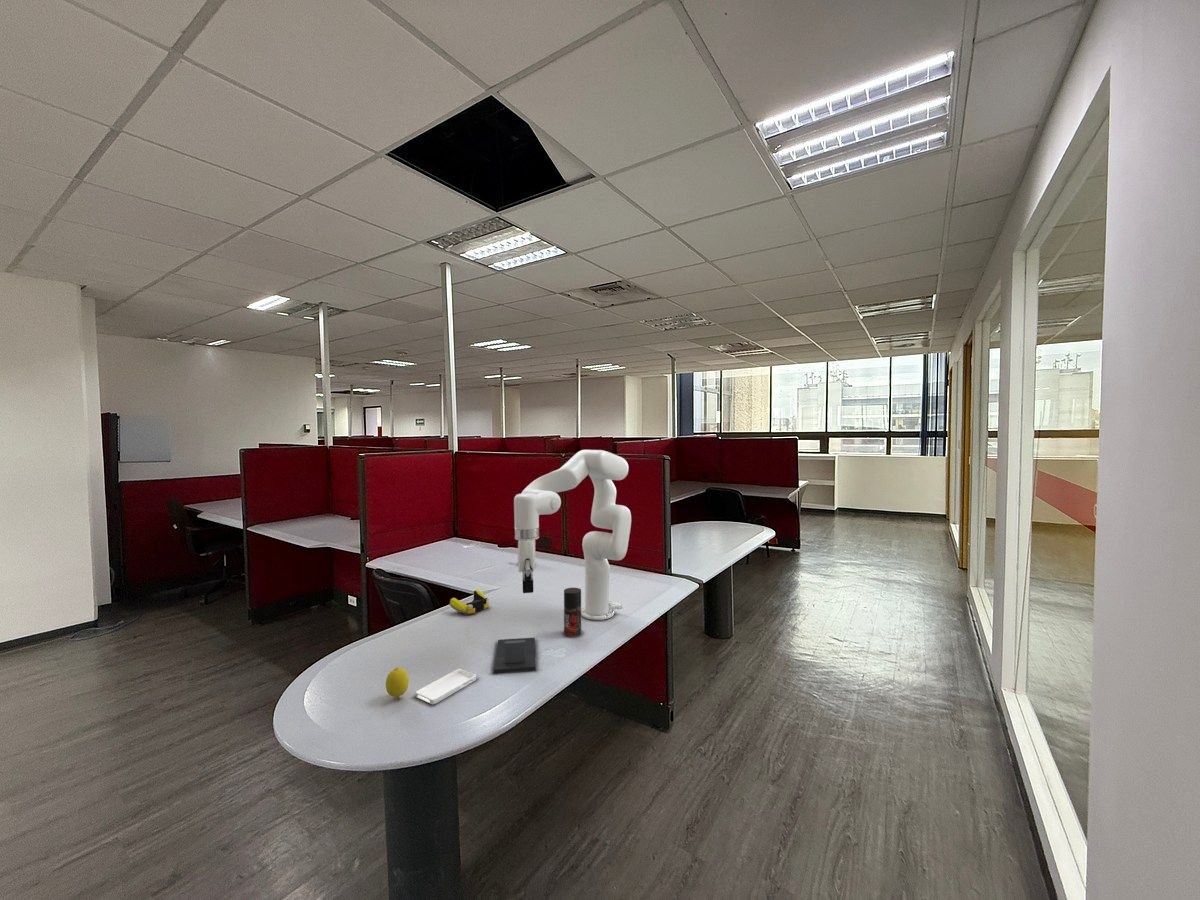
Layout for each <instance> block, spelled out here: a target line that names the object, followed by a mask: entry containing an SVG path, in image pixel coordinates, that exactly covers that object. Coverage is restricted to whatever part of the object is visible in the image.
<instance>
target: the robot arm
mask: <svg viewBox="0 0 1200 900" xmlns="http://www.w3.org/2000/svg"><path fill="white" fill-rule="evenodd" d="M628 475H629V464H628V461H627V460H626V459H625V458H624V457H622V456H619V455H617V454H615V453H613V452H610V451H606V450H603V449H581V450H579V451H577V452H576V453H575V454H574V455H572V457H571V458H569V460H568V461H566V462H565V463H564V464H563V465H561V467H560V468H558V469H555V470H553V471H550V472H549V473H546V474H544V475H541V476H540V477H537V478H536V479H534V480H533V481H531V482H530V483H529V484H528V485H526V487H525V488H524V489H523V490H522V491H521V493H517V494H515V496H514V497H513V514H514V515H513V516H514V517H513V519H514V521H513V522H514V524H513V525H514V540H516V541H517V566H518V567H517V569H518V573H522V594H532V593H534V578H533V577H534V574H533V573H534V571H535V567H536V540H538V539H540V516H541V515H552V514H554V513H557V512H558V511H559V509H560V508H561V505H562V500H561V497H560V495H559V494H558V493H561V492H566V491H570V490H573V489H576V488H577V486H579V484H580V483H581V482H582V481H583V480H584V479H586V478H587V476H588V477H589V478H590V481H591V482H592V484H593V488H594V490H593V491H594V492H593V493H594V494H593V501H592V506H591V513H590V523H591V525H592V526H594V527H595V528H599V529H605V530H612V532H606V531H598V530H593V531H589V532H587V533H586V534H585V535H584V536H583V538H582V543H581V545H582V546H581V547H582V552H583V558H584V607H583V608H581V617H583V618H584V619H587V620H590V621H591V620H593V621H604V620H608V619H610V618H612V617H614V615H615V610H623V603H618V602H612V601H611V567H610V563H609V561H608V560H611V561H622V560H623V559H624V558H625V557H626V555H627V552H628V546H629V541H630V534H631V528H632V513H631V510H630V509H629V508H628V507H627V506H626V505H622V504H616V501H617V500H616V499H617V487H616V486H615V484H614V482H613V481H621V480H624V479H626V477H627V476H628Z"/></svg>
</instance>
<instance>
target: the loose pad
mask: <svg viewBox="0 0 1200 900" xmlns="http://www.w3.org/2000/svg"><path fill="white" fill-rule="evenodd" d="M536 670H537V669H536V653H535V654H530V655H525V640H517V641H505V656H500V657H496V656H495V657H494V663H493V669H492V671H493V674H506V673H507V674H509V673H520V672H533V671H535V672H536Z"/></svg>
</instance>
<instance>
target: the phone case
mask: <svg viewBox="0 0 1200 900" xmlns="http://www.w3.org/2000/svg"><path fill="white" fill-rule="evenodd" d="M476 680H477V674H476V673H473V672H471V671H468V670H465V669H462V668H457V669H455V670H453V671H450V672H449V673H448V674H446V675H444V676H442V677H440V678H438V679H436V680H435V681H433V682H430V683H428V684H427V685H425V686H423V687H422V688H420V689H418V690H416V691H415V698H417V699H419V700H421V701H423V702H426V703H428V704H430V705H432V706H433V705H436V704H438V703H439V702H441V701H443V700H445V699H446V698H448V697H450V696H452V695H453V694H455V693H457V692H458V691H460V690H461V689H464V688H465V687H467V686H469V685H470V684H472V683H473V682H475V681H476Z"/></svg>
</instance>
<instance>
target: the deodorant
mask: <svg viewBox="0 0 1200 900" xmlns="http://www.w3.org/2000/svg"><path fill="white" fill-rule="evenodd" d="M581 610H582V589H581V588H578V587H567V588H564V589H563V635H564V636H565V637H568V638H576V637H580V636H581V635H582V615H581Z"/></svg>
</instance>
